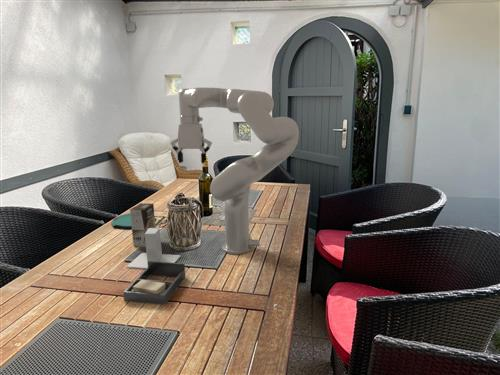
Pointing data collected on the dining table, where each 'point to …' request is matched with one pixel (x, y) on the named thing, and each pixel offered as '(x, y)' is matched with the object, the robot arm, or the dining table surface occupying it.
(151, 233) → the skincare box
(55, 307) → the dining table surface
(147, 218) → the coffee box
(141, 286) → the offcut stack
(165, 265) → the tray
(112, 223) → the green flat slab
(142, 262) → the board
